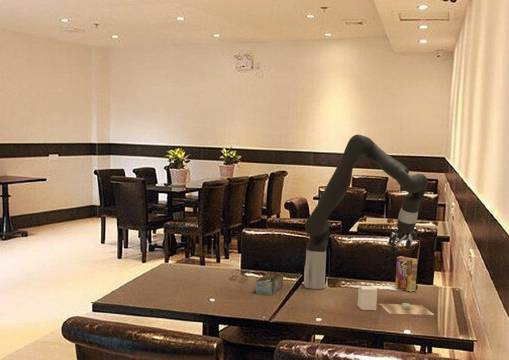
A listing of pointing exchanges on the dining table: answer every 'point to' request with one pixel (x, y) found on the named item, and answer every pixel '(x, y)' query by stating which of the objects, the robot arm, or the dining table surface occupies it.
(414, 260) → the candy box
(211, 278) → the dining table surface
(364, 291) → the white upright block
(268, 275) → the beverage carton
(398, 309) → the board
